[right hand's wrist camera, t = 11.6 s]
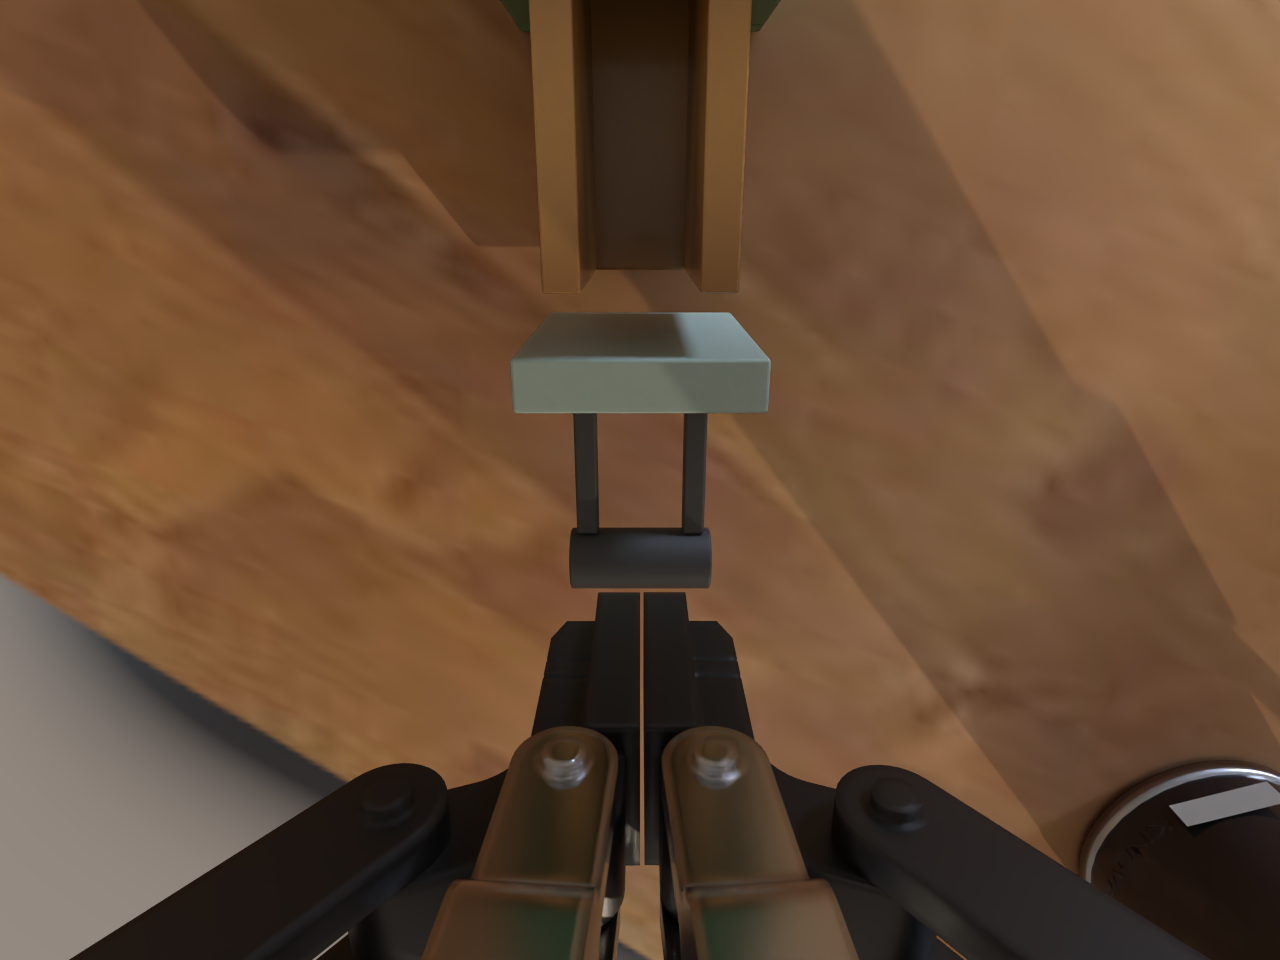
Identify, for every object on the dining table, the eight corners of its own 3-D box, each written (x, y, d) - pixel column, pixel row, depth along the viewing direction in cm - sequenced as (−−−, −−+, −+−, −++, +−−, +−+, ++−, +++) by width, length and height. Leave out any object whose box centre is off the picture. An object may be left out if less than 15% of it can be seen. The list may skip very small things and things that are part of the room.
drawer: (721, 534, 25) (753, 660, 18) (558, 534, 25) (527, 660, 18) (768, -571, 16) (867, -1174, 9) (511, -571, 16) (412, -1171, 9)
